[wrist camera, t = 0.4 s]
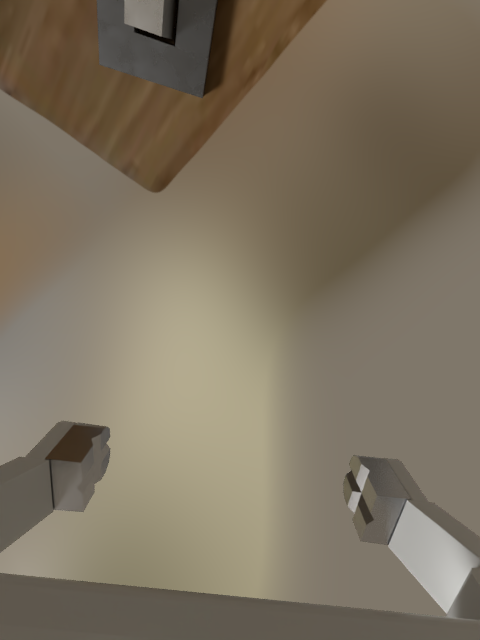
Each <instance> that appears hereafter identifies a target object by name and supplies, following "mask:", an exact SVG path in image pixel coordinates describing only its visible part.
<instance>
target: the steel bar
mask: <svg viewBox="0 0 480 640" xmlns="http://www.w3.org/2000/svg"><path fill="white" fill-rule="evenodd" d="M177 2H178V0H124V23H125V24H127V25H130V26H133V27H136V28H139V29H142V30H144V31H147V32H150V33H153V34H156V35H158V36H161V37H165V38H169V39H173V40H174V38H175V26H176V14H177Z"/></svg>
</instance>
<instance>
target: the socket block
mask: <svg viewBox="0 0 480 640" xmlns="http://www.w3.org/2000/svg"><path fill="white" fill-rule="evenodd" d="M217 3H218V0H179V8H178V19H177V31H176V42H175V46H174V45H171V44H168V43H165V42H162V41H159V40H157V39H154V38H151V37H148V36H145V35H143V34H140V29H139V28H136V27H133V26H130V25H127V24H125V23H124V0H97V15H98V39H99V64H100V65H102V66H105V67H109V68H112V69H115V70H118V71H121V72H124V73H127V74H130V75H133V76H136V77H139V78H142V79H145V80H148V81H152V82H155V83H158V84H161V85H164V86H167V87H170V88H173V89H176V90H179V91H182V92H185V93H188V94H192V95H195V96H198V97H201V98H203V96H204V91H205V84H206V78H207V71H208V64H209V57H210V51H211V44H212V37H213V30H214V23H215V17H216V10H217Z"/></svg>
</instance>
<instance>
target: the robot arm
mask: <svg viewBox="0 0 480 640" xmlns="http://www.w3.org/2000/svg"><path fill="white" fill-rule="evenodd" d="M109 438H110V429H109V428H108V427H106V426H99V425H92V424H85V423H75V422H68V421H61V422H58V423H57V424H56V425H55V426H54V427H53V428H52V429H51V430H50V431H49V432H48V433H47V434H46V436H45V437H44V438H43V439H42V440H41V441H40V442H39V443H38V444H37V445H36V446H35V447H34V448H33V449H32V450H31V451H30V453H28V455H27V456H26V457H18V458H16V459H14V460H12V461H10V462H8V463H5V464H3V465H1V466H0V552H2V551H3V550H4V549H6V548H7V547H8V546H9V545H11V544H12V543H13V542H15V541H16V540H17V539H19V538H20V537H21V536H22V535H24V534H25V533H26V532H28V531H29V530H30V529H31V528H32V527H34V526H35V525H37V524H38V523H39V522H40V521H42V520H43V519H44V518H45V517H47V516H48V515H49V514H51V513H52V512H53V510H66V511H79V512H83V511H84V510H85V508H86V506H87V504H88V503H89V500H90V499H91V497H92V495H93V494H94V484H95V483H97V482H98V481H100V480H101V479H102V477H103V476H104V474H105V472H106V469H107V466H108V463H109V457H110V448H109V446H108V445H107V444H106V443H107V441H108V440H109ZM349 466H350V468H351V471H350V472H349V473H347V474H346V476H345V479H344V497H345V501H346V504H347V506H348V507H349V508H350V509H351V510H352V511H353V512H354V513H355V514H354V517H353V523H354V525H355V528H356V530H357V533H358V536H359V538H360V541H363V542H370V543H378V544H384V545H389V546H388V547H389V548H390V549H391V550H392V551H393V553H394V554H395V555H396V556H397V557H398V558H399V560H400V561H401V562H402V563H403V564H404V565H405V567H406V568H407V569H408V570H409V571H410V572H411V573H412V575H413V576H414V577H415V578H416V579H417V580H418V581H419V583H420V584H421V585H422V586H423V587H424V588H425V590H426V591H427V592H428V593H429V594H430V595H431V596H432V598H433V599H434V600H435V601H436V602H437V603H438V604H439V606H440V607H441V608H442V609H443V610H444V611H445V613H446V616H445V617H443V616H433V615H423V614H413V613H402V612H392V611H381V610H372V609H361V608H351V607H340V606H330V605H320V604H309V603H299V602H288V601H277V600H268V599H258V598H247V597H238V596H228V595H218V594H206V593H197V592H187V591H177V590H167V589H157V588H147V587H137V586H126V585H116V584H106V583H96V582H86V581H76V580H65V579H55V578H45V577H35V576H24V575H14V574H4V573H0V640H480V537H479V536H478V535H476V534H475V533H474V532H472V531H471V530H470V529H468V528H467V527H466V526H464V525H463V524H461V523H460V522H459V521H457V520H456V519H455V518H453V517H452V516H451V515H449V514H448V513H447V512H446V511H444V510H443V509H442V508H440V507H439V506H438V505H436V504H435V503H432V502H428V500H427V498H426V497H425V496H424V494H423V493H422V491H421V490H420V488H419V487H418V485H417V484H416V482H415V481H414V480H413V478H412V476H411V475H410V473H409V472H408V471H407V469H406V468H405V466H404V465H403V463H402V462H401V461H399V460H398V459H388V458H375V457H366V456H356V455H353V457H352V458H351V460H350V463H349Z"/></svg>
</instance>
